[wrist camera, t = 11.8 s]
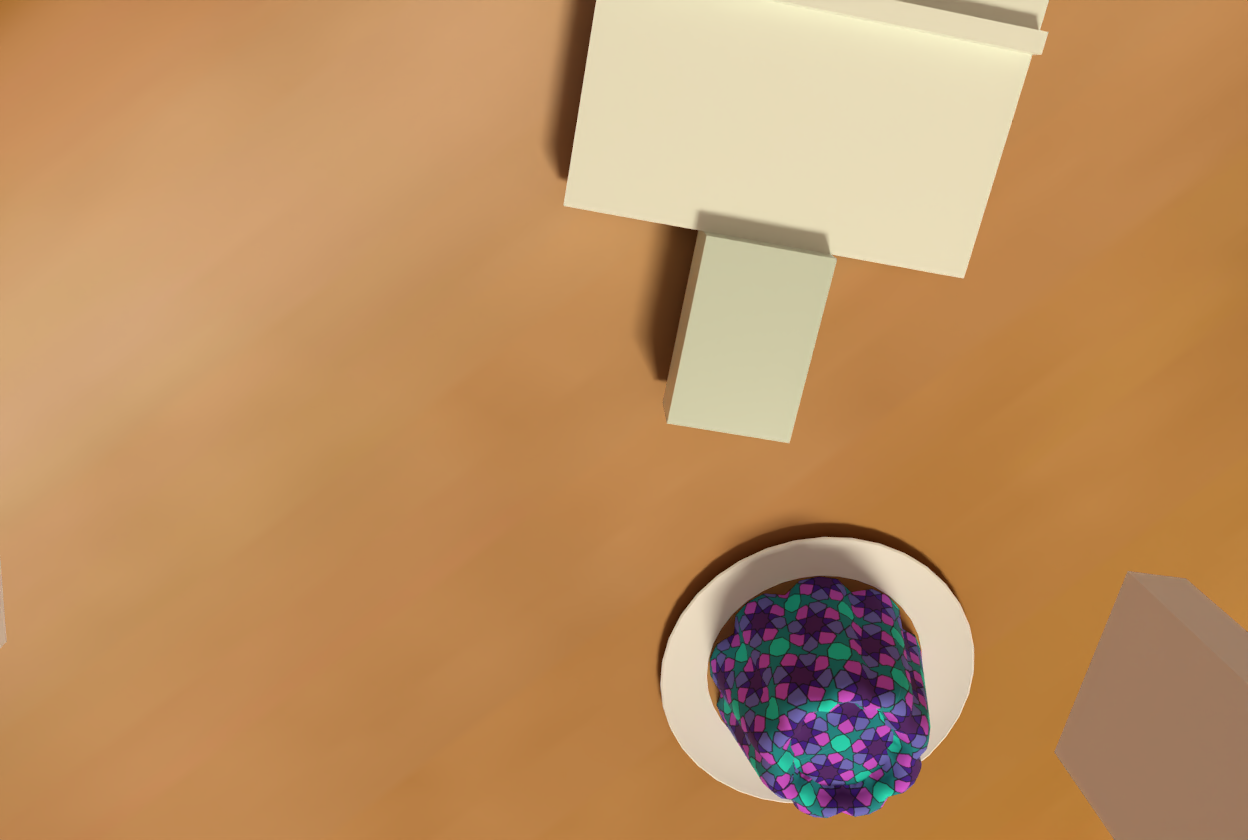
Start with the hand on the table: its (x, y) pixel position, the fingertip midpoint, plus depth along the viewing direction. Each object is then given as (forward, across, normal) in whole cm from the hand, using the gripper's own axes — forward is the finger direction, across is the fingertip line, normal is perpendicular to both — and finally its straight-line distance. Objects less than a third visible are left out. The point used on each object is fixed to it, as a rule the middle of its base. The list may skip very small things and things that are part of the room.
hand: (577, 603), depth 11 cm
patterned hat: (+21, +12, -15) cm, 28 cm away
